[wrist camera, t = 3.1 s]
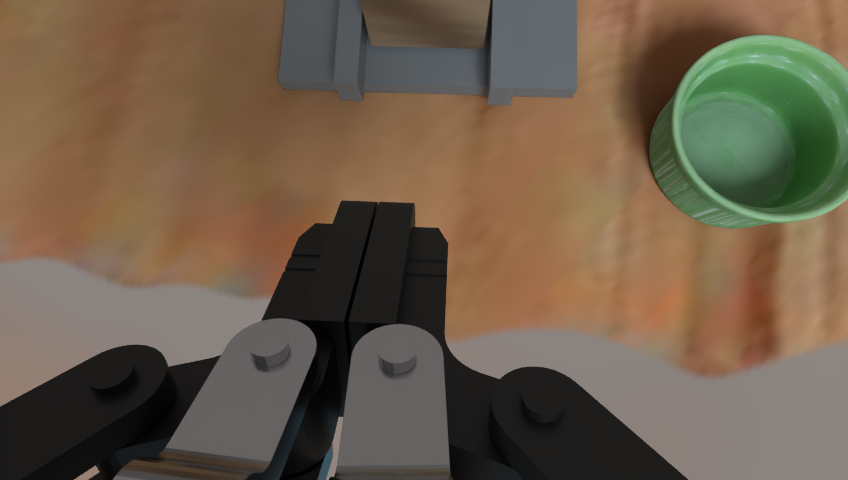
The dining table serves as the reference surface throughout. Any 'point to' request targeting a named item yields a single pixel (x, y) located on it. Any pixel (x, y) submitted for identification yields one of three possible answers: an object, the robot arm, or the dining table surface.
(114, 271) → the dining table surface
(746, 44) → the ramekin
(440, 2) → the brown bottle-shaped block
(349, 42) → the mount
